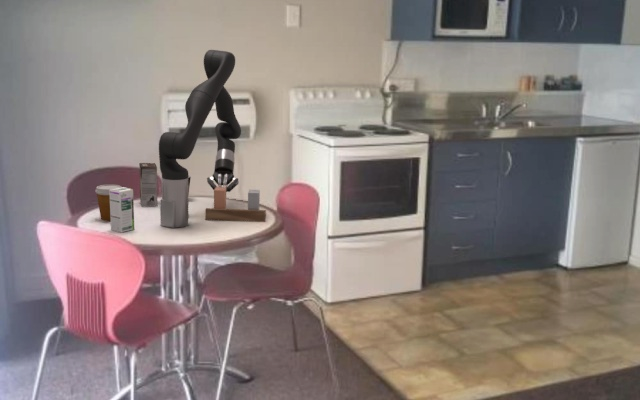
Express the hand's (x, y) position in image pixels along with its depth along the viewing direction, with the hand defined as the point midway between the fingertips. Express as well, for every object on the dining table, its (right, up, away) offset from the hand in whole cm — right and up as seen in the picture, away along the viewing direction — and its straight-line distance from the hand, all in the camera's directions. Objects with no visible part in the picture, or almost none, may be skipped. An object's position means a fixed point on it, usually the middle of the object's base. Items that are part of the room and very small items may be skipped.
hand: (221, 199), depth 260 cm
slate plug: (+13, -7, -4) cm, 15 cm away
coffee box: (-31, -2, +10) cm, 33 cm away
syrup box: (-30, -11, -27) cm, 42 cm away
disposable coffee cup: (-39, -7, -14) cm, 42 cm away
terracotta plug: (0, -6, -2) cm, 6 cm away
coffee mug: (-21, -1, +19) cm, 28 cm away
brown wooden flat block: (+6, -7, -4) cm, 10 cm away
